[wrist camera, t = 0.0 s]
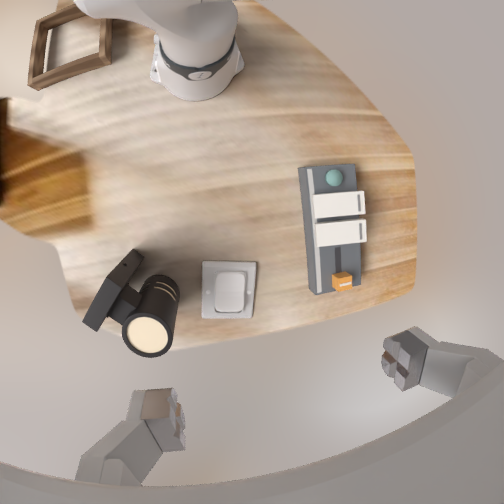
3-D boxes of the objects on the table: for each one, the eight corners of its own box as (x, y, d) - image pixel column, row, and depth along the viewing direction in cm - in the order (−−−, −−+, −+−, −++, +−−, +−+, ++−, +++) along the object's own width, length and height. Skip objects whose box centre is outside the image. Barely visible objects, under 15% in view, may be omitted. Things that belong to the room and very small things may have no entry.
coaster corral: (44, 28, 37) (36, 20, 32) (113, 2, 39) (108, -8, 34) (38, 90, 41) (27, 85, 37) (111, 64, 44) (104, 55, 39)
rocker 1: (311, 194, 53) (312, 195, 51) (361, 190, 52) (364, 191, 50) (313, 217, 54) (315, 218, 53) (363, 212, 53) (365, 213, 52)
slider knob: (331, 274, 58) (338, 279, 55) (345, 271, 59) (352, 276, 56) (332, 286, 59) (339, 292, 56) (345, 283, 59) (352, 288, 56)
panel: (297, 168, 56) (306, 166, 51) (345, 164, 57) (357, 163, 53) (309, 288, 63) (317, 297, 58) (352, 278, 64) (363, 286, 59)
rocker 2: (314, 222, 55) (315, 224, 53) (363, 218, 54) (366, 219, 52) (316, 244, 56) (317, 247, 54) (364, 239, 55) (366, 241, 53)
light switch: (202, 325, 57) (202, 266, 54) (201, 315, 61) (202, 259, 58) (254, 324, 59) (259, 267, 56) (250, 315, 63) (255, 260, 60)
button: (324, 170, 53) (327, 170, 51) (338, 169, 53) (341, 169, 52) (325, 186, 54) (328, 186, 52) (340, 185, 54) (343, 185, 53)
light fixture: (164, 320, 59) (154, 369, 42) (111, 284, 55) (81, 323, 38) (189, 286, 58) (185, 327, 41) (133, 247, 54) (107, 275, 37)
